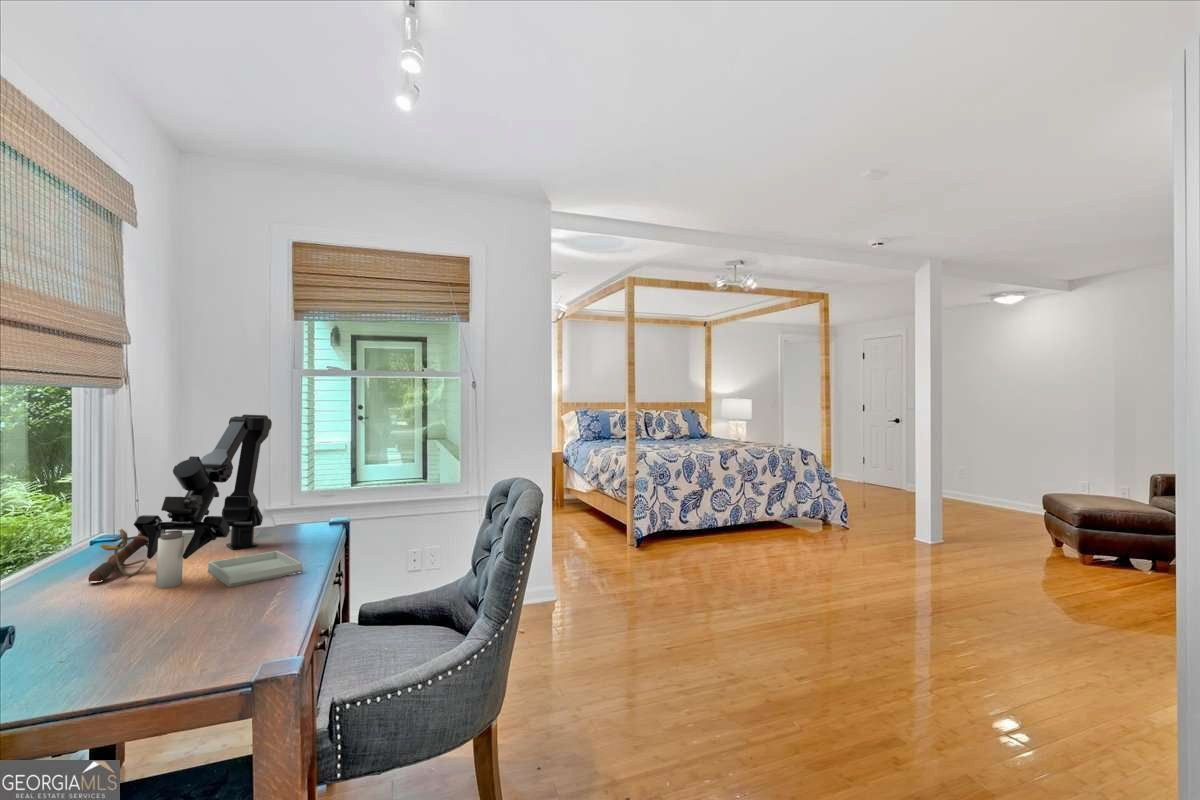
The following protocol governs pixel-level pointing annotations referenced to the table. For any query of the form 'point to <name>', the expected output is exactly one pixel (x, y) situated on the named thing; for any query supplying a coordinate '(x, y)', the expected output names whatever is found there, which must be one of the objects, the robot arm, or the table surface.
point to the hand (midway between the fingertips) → (166, 558)
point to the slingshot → (120, 556)
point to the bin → (253, 568)
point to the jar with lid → (169, 559)
